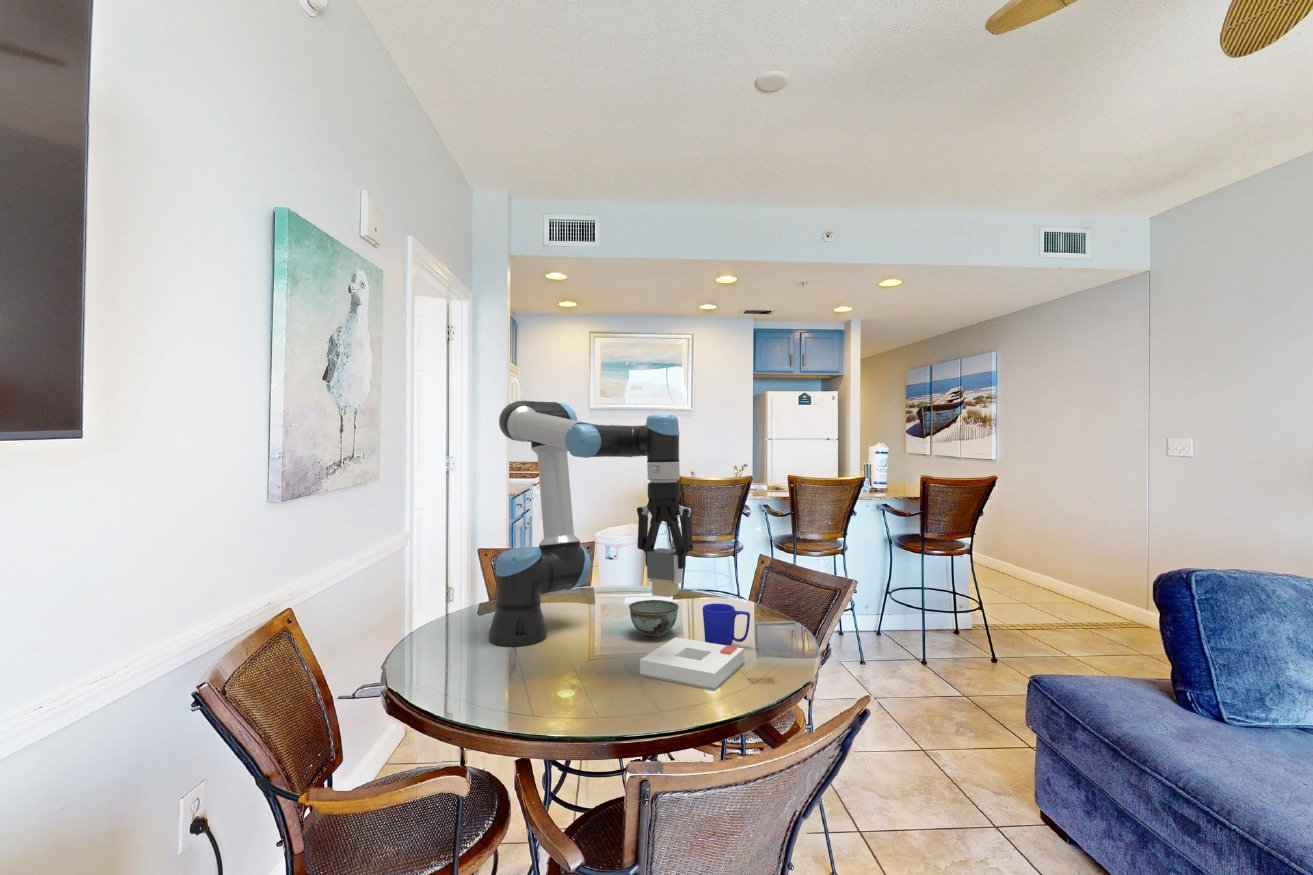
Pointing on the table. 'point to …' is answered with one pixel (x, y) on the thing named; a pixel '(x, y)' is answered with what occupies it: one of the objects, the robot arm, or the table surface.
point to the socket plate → (692, 663)
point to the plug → (662, 572)
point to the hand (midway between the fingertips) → (665, 581)
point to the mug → (721, 623)
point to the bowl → (653, 617)
